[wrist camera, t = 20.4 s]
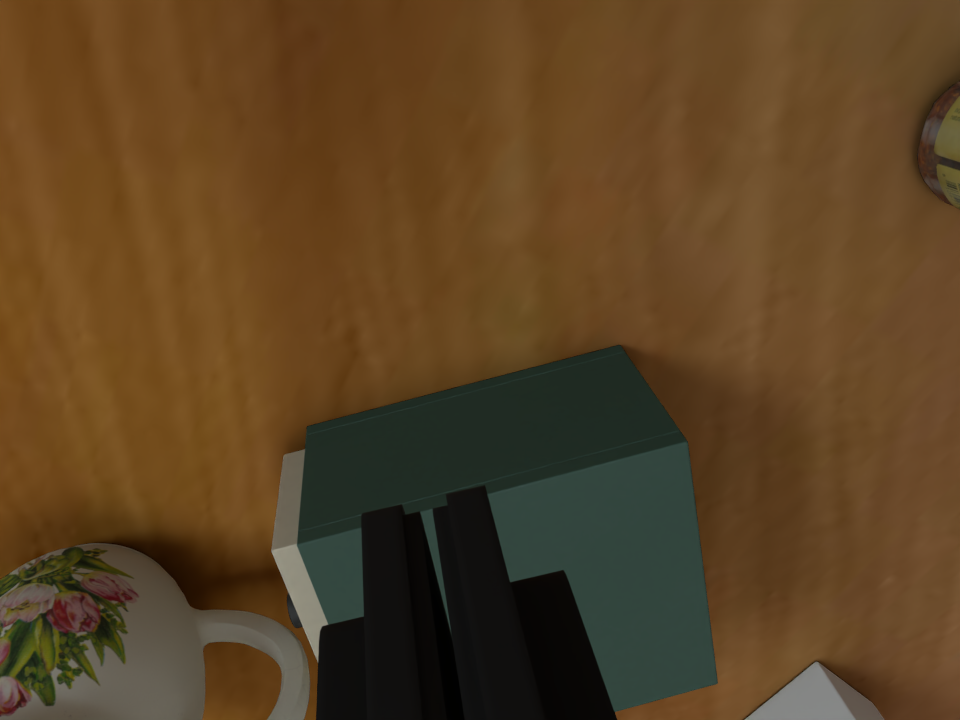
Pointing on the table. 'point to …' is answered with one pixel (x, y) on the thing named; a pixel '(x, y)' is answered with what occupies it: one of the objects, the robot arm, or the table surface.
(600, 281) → the table surface
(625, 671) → the cabinet
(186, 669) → the pitcher
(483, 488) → the robot arm
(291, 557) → the drawer
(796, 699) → the milk
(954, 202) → the sauce bottle
